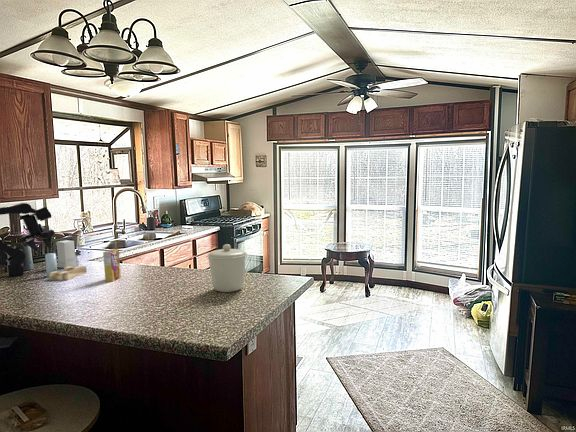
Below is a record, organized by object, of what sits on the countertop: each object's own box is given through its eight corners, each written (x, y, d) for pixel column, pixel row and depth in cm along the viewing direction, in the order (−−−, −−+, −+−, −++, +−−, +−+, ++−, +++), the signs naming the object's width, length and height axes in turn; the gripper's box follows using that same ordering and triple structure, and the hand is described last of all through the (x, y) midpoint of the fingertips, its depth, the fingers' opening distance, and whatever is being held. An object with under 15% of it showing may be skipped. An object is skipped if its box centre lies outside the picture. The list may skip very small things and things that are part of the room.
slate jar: (47, 277, 212) (45, 255, 211) (46, 275, 216) (44, 253, 215) (58, 276, 215) (56, 254, 214) (56, 274, 219) (55, 252, 218)
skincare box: (76, 266, 238) (74, 240, 236) (65, 269, 232) (63, 242, 230) (68, 265, 242) (67, 239, 240) (57, 267, 236) (55, 241, 235)
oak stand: (49, 279, 207) (49, 273, 207) (69, 272, 223) (69, 266, 223) (68, 280, 206) (67, 273, 206) (86, 272, 222) (86, 266, 222)
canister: (240, 296, 174) (239, 248, 172) (201, 294, 178) (199, 247, 176) (252, 284, 192) (251, 241, 189) (216, 283, 195) (215, 240, 193)
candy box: (113, 277, 211) (111, 248, 209) (121, 277, 210) (119, 248, 209) (104, 281, 202) (102, 251, 200) (112, 281, 201) (111, 251, 200)
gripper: (55, 216, 227) (66, 241, 232) (29, 222, 231) (40, 246, 236) (41, 223, 217) (53, 249, 222) (13, 229, 221) (26, 254, 226)
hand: (43, 249), depth 227 cm, fingers open, 9 cm apart
